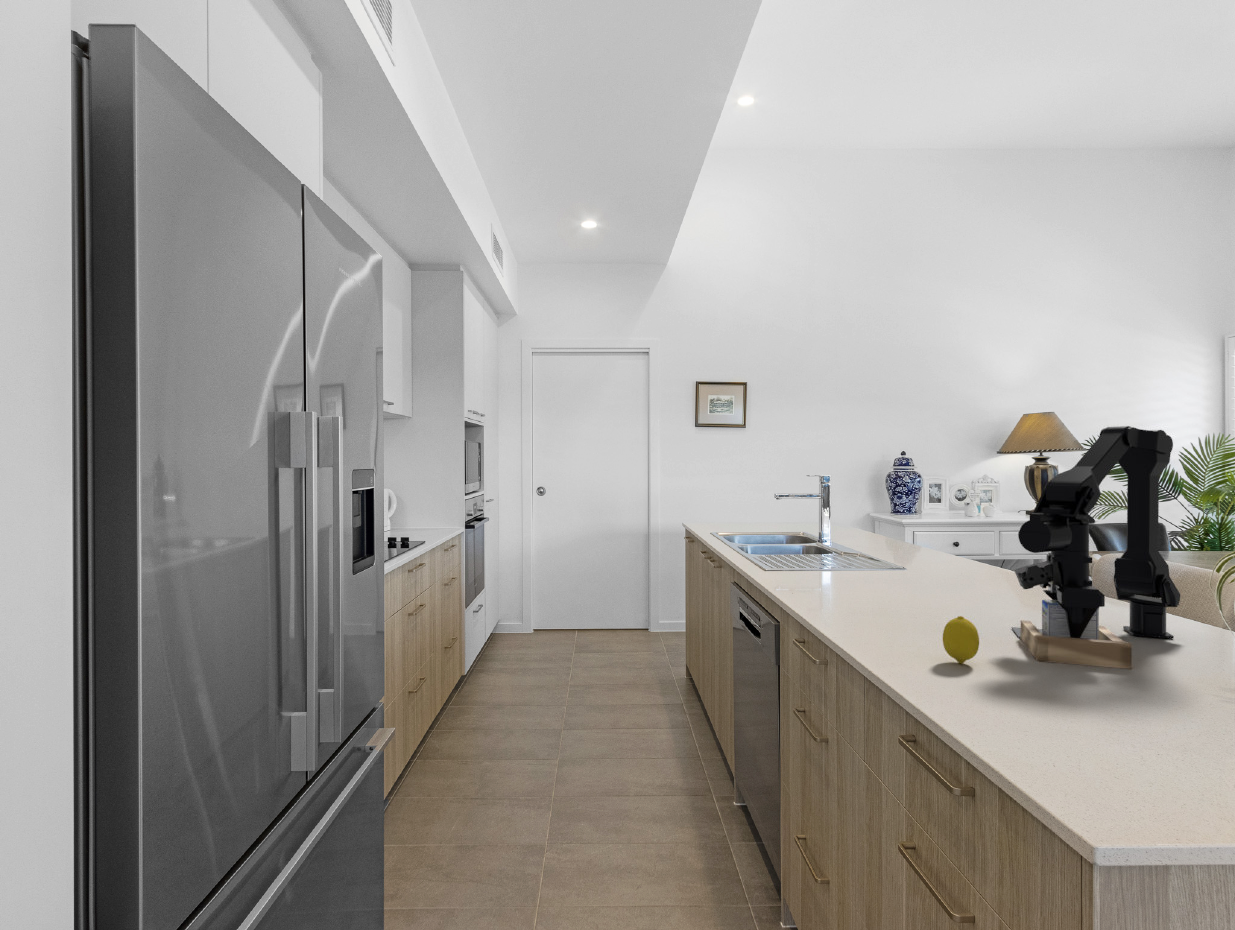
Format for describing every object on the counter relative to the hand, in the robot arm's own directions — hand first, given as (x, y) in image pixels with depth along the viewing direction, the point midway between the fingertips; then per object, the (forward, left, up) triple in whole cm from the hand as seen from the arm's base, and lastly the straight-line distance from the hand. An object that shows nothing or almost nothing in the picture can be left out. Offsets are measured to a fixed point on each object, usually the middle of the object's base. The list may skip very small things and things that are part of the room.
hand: (1069, 636), depth 124 cm
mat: (-11, -1, -2) cm, 11 cm away
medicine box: (0, 0, -3) cm, 3 cm away
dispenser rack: (+1, 0, -2) cm, 3 cm away
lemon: (+15, -19, -3) cm, 25 cm away
